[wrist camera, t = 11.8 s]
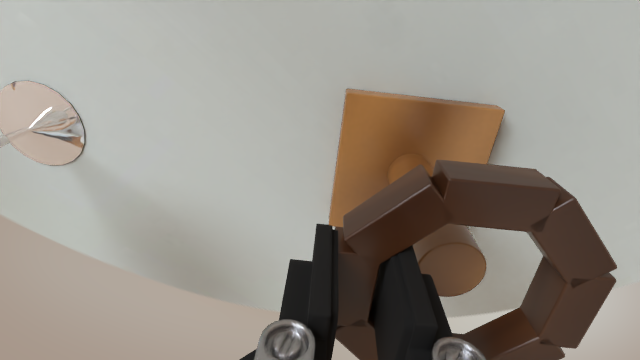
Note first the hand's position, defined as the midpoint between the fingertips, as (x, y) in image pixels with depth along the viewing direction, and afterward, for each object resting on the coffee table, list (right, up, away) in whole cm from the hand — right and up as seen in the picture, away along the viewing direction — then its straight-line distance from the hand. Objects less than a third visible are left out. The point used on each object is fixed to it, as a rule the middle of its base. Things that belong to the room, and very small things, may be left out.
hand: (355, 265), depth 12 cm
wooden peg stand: (+4, +4, +8) cm, 10 cm away
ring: (+3, 0, 0) cm, 3 cm away
